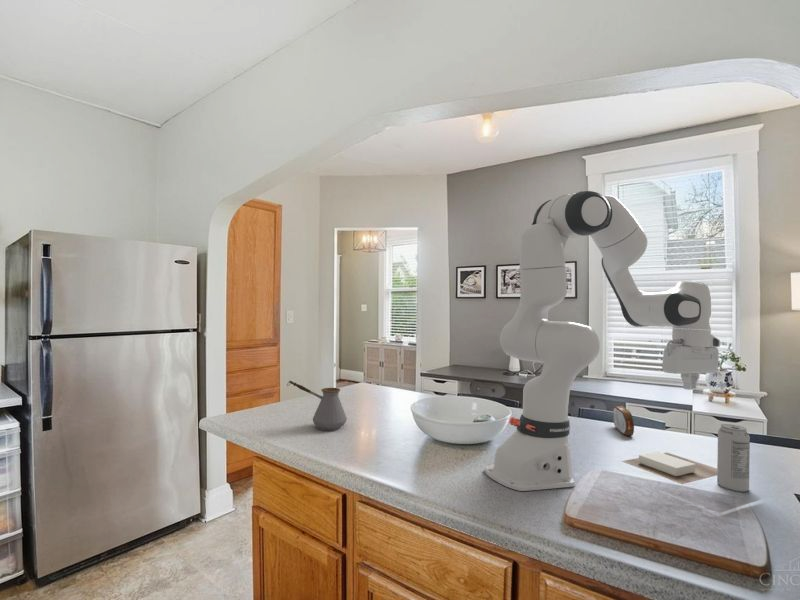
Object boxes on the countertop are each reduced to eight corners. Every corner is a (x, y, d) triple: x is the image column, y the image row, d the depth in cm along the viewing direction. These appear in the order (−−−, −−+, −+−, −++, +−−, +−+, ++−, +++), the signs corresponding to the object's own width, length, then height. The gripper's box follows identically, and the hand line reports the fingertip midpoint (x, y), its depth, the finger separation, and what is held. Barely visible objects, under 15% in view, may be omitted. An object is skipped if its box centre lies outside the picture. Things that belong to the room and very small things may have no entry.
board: (682, 486, 101) (682, 483, 101) (621, 463, 116) (621, 461, 116) (728, 474, 110) (728, 472, 110) (666, 454, 124) (666, 452, 124)
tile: (695, 472, 109) (676, 477, 105) (657, 459, 118) (638, 463, 114) (695, 463, 109) (676, 468, 105) (657, 451, 118) (638, 455, 114)
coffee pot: (350, 424, 146) (351, 381, 146) (341, 433, 135) (342, 387, 135) (292, 419, 149) (294, 377, 150) (278, 428, 138) (280, 383, 138)
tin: (634, 438, 139) (635, 413, 140) (624, 437, 140) (625, 412, 140) (620, 426, 154) (620, 403, 154) (611, 425, 155) (611, 403, 155)
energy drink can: (734, 484, 103) (735, 423, 104) (756, 495, 97) (756, 430, 98) (710, 484, 103) (711, 423, 103) (730, 495, 97) (731, 430, 97)
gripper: (680, 339, 109) (678, 392, 109) (723, 341, 118) (722, 390, 118) (656, 338, 115) (655, 388, 114) (699, 339, 124) (698, 386, 123)
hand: (689, 389), depth 116 cm, fingers closed
